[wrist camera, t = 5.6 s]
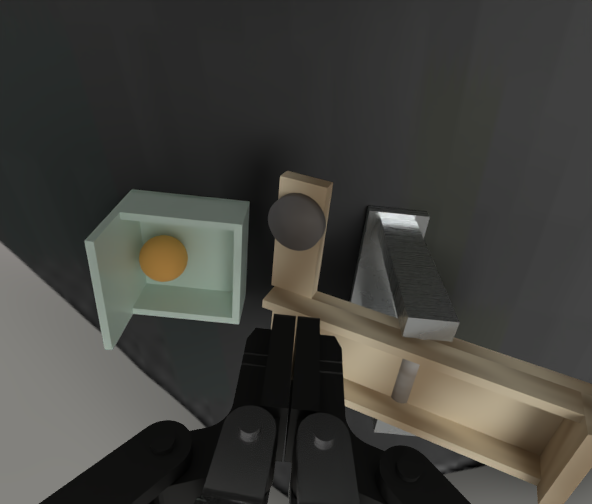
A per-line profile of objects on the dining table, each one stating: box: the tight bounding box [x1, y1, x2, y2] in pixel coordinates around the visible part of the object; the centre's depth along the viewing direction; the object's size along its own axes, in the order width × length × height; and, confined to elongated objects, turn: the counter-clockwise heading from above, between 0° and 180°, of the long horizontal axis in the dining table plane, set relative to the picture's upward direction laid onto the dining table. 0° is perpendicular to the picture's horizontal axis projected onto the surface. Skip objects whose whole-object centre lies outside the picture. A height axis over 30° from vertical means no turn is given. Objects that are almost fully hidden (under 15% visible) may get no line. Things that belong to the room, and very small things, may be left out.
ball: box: [139, 235, 188, 282], centre depth 30 cm, size 3×3×3 cm
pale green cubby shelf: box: [84, 189, 250, 350], centre depth 28 cm, size 8×8×7 cm
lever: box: [262, 171, 592, 504], centre depth 21 cm, size 16×12×3 cm
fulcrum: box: [349, 206, 459, 436], centre depth 27 cm, size 4×9×11 cm, turn 175°
